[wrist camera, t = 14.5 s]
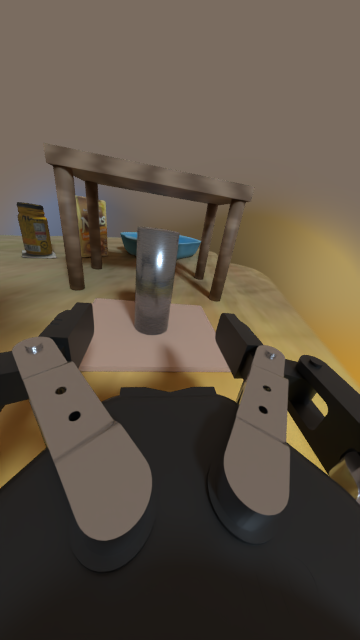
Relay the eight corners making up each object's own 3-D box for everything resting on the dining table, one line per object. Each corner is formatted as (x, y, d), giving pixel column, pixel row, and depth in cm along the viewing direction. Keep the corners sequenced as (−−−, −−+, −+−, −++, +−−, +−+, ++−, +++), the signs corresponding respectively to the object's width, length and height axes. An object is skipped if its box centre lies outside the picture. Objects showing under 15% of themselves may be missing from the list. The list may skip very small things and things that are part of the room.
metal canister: (133, 334, 23) (136, 228, 18) (135, 317, 27) (138, 225, 22) (169, 335, 24) (182, 234, 19) (166, 319, 28) (176, 231, 23)
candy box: (82, 258, 55) (76, 195, 47) (74, 254, 57) (67, 194, 49) (108, 256, 62) (106, 201, 54) (100, 253, 63) (97, 199, 56)
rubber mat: (53, 371, 18) (52, 366, 17) (95, 301, 31) (95, 298, 31) (233, 371, 21) (234, 367, 21) (200, 308, 35) (200, 305, 34)
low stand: (65, 289, 34) (43, 142, 24) (92, 265, 49) (84, 170, 40) (223, 302, 39) (254, 186, 30) (202, 277, 55) (218, 195, 45)
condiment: (53, 251, 57) (45, 205, 51) (56, 258, 51) (48, 207, 45) (22, 251, 53) (10, 200, 47) (22, 258, 47) (8, 201, 41)
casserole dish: (158, 266, 59) (160, 242, 56) (108, 252, 68) (107, 230, 65) (205, 257, 88) (208, 240, 85) (165, 247, 97) (167, 232, 94)
